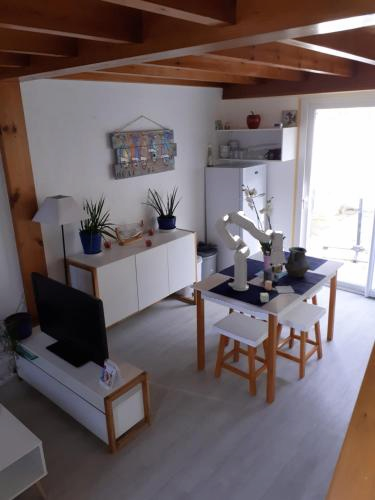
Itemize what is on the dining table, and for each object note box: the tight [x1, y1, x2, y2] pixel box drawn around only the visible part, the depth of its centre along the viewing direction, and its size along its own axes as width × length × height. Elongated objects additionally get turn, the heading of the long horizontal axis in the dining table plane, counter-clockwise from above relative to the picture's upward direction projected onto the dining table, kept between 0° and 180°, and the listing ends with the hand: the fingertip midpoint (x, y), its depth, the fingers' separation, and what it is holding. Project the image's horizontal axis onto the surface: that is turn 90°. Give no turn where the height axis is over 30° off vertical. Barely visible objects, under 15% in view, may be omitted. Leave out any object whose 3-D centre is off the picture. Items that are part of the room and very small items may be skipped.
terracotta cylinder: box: [264, 281, 273, 291], centre depth 317 cm, size 5×5×6 cm
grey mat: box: [274, 285, 295, 294], centre depth 315 cm, size 12×12×1 cm
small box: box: [263, 267, 280, 284], centre depth 329 cm, size 11×6×10 cm, turn 105°
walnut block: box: [274, 264, 282, 274], centre depth 304 cm, size 5×5×5 cm
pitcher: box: [284, 246, 311, 279], centre depth 336 cm, size 21×22×25 cm
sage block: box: [259, 292, 270, 303], centre depth 298 cm, size 5×5×5 cm
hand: (277, 271), depth 305 cm, fingers closed on walnut block, 4 cm apart
